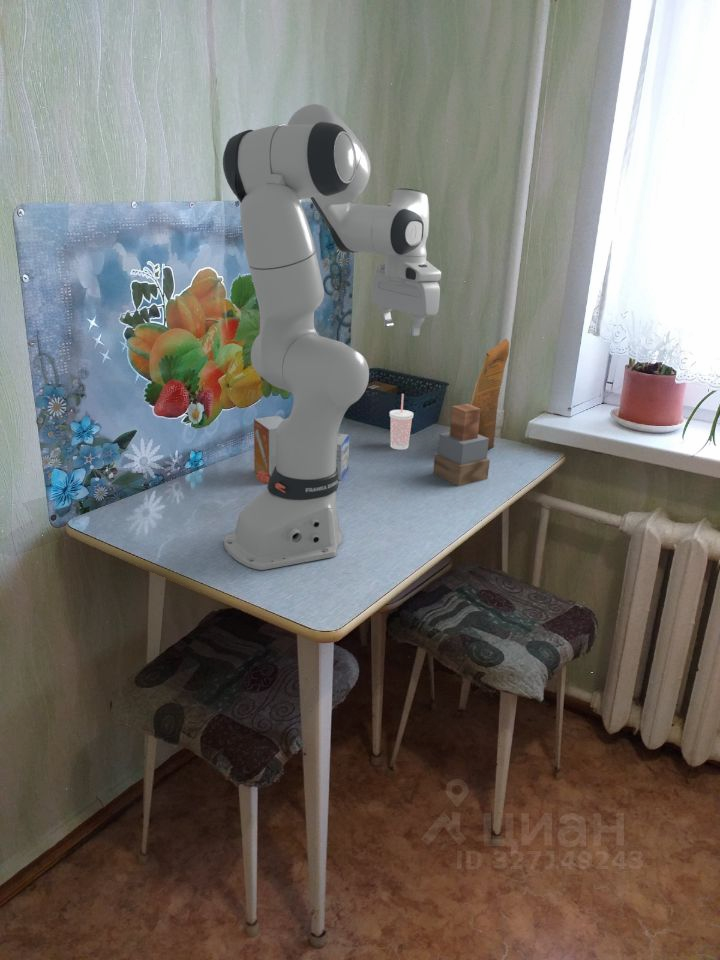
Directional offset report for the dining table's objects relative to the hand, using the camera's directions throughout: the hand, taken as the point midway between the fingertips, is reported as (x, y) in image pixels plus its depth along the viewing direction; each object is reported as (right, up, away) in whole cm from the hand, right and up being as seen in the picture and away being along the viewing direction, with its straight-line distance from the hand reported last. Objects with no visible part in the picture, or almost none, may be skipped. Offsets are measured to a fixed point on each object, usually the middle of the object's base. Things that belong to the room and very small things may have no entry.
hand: (401, 331), depth 172 cm
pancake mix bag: (+21, -26, +24) cm, 41 cm away
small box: (-29, -33, +2) cm, 44 cm away
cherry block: (+15, -24, +3) cm, 28 cm away
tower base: (+14, -33, +7) cm, 36 cm away
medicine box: (-15, -32, +5) cm, 36 cm away
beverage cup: (+1, -25, +24) cm, 35 cm away
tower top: (+15, -28, +5) cm, 32 cm away
